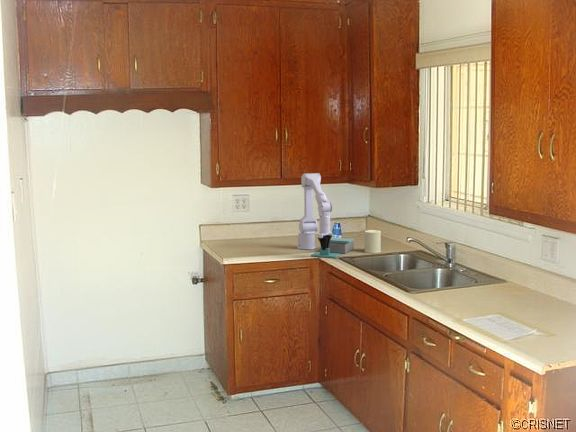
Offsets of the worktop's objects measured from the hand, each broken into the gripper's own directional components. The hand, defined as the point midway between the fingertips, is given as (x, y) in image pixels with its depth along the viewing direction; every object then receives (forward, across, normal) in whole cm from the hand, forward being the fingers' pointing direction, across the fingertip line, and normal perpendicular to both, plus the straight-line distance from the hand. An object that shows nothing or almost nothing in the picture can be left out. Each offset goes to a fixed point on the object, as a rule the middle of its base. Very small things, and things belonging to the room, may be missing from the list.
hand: (324, 249), depth 375 cm
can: (+4, +24, -20) cm, 31 cm away
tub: (+4, +18, -1) cm, 19 cm away
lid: (+4, +1, 0) cm, 5 cm away
